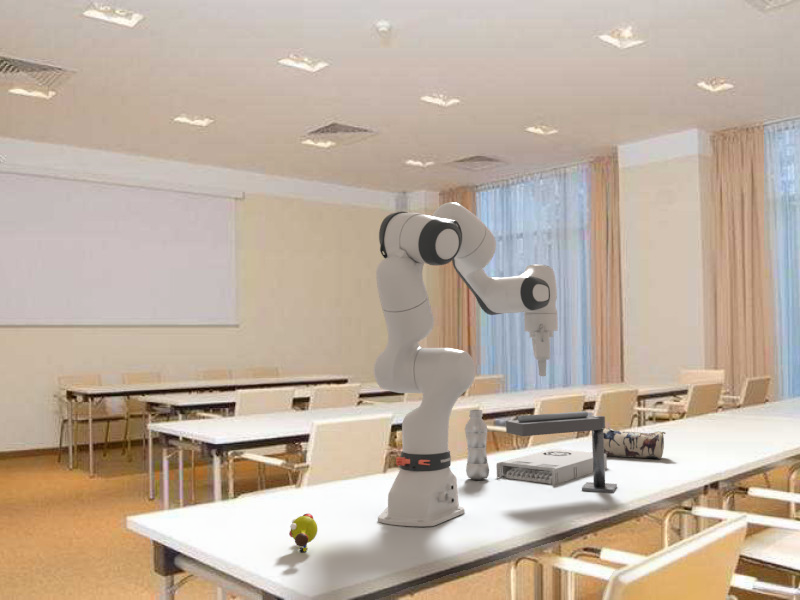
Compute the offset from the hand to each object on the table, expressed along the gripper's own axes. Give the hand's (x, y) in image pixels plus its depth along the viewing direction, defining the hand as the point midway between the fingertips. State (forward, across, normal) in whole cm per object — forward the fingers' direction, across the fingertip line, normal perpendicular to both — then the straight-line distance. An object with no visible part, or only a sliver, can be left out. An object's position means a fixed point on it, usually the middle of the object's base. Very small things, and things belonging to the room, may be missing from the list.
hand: (542, 376), depth 202 cm
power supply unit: (+31, +26, -3) cm, 41 cm away
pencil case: (+30, +56, -30) cm, 70 cm away
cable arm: (+14, -4, -4) cm, 15 cm away
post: (+30, +2, -14) cm, 34 cm away
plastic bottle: (+31, +14, +19) cm, 39 cm away
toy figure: (+31, -61, +49) cm, 84 cm away
